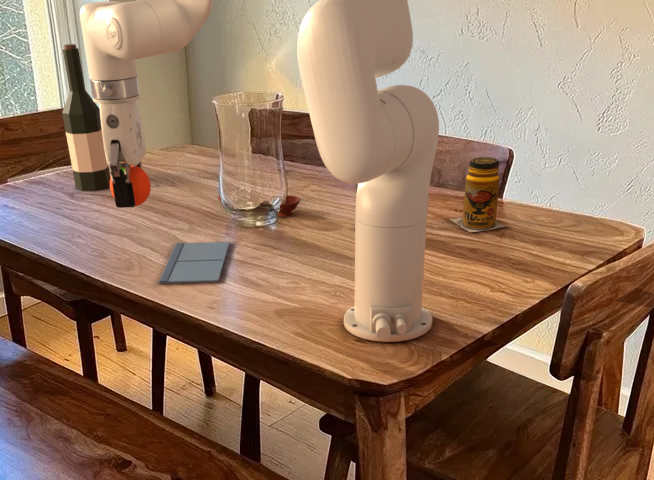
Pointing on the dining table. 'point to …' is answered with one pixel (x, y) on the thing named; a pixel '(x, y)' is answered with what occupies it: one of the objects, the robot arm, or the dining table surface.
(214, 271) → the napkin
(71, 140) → the wine bottle
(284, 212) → the pottery
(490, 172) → the condiment
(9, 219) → the dining table surface
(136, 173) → the clementine
